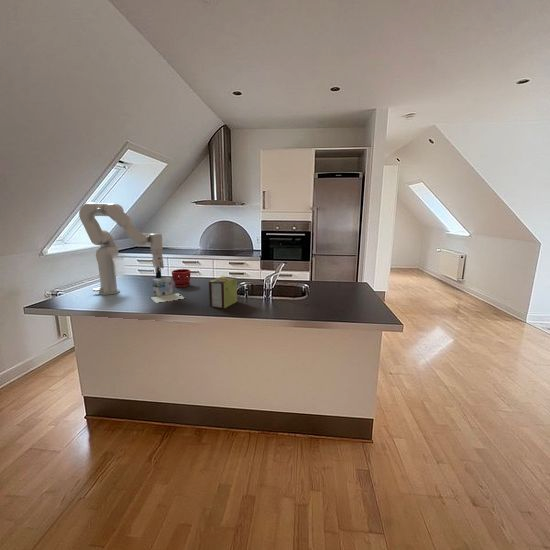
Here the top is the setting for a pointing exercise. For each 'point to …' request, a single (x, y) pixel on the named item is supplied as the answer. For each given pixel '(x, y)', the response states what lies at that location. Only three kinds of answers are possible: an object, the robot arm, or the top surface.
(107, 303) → the top surface
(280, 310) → the top surface
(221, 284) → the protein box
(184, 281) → the plant pot
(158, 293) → the light bulb box
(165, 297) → the pale green mat
